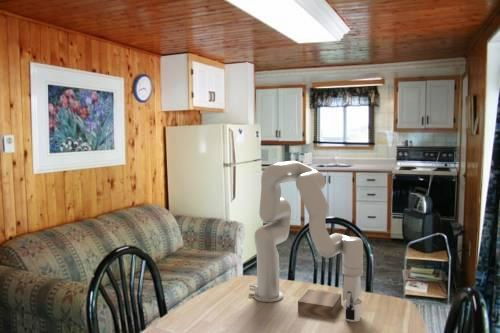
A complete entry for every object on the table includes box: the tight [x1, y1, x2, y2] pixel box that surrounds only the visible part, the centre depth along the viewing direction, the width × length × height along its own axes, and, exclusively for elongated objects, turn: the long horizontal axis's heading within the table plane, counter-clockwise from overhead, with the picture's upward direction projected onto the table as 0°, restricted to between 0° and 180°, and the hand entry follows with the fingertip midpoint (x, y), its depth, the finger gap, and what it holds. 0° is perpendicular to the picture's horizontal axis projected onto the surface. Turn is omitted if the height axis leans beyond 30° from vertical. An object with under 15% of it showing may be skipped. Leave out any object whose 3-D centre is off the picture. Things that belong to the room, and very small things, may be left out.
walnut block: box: [297, 288, 342, 319], centre depth 181 cm, size 14×14×5 cm
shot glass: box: [342, 298, 363, 323], centre depth 171 cm, size 7×7×7 cm
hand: (352, 315), depth 171 cm, fingers open, 6 cm apart
